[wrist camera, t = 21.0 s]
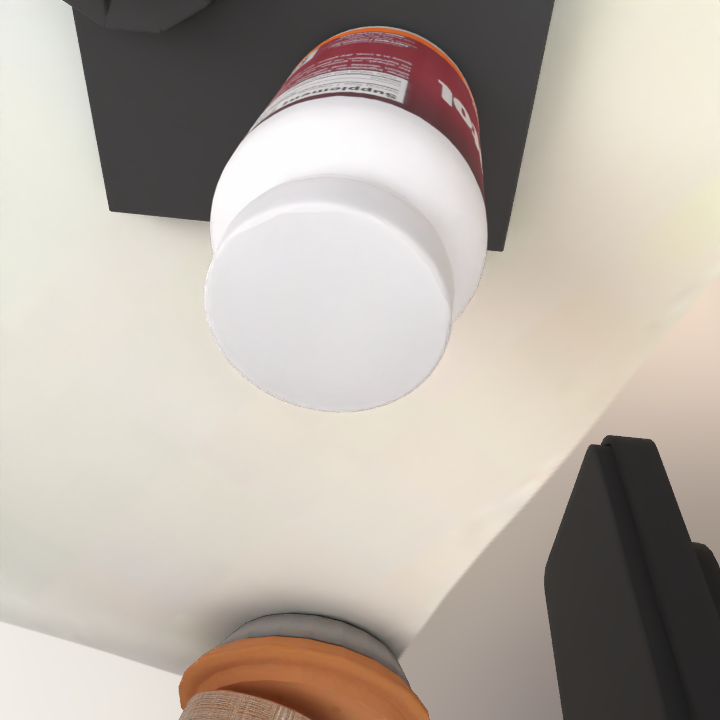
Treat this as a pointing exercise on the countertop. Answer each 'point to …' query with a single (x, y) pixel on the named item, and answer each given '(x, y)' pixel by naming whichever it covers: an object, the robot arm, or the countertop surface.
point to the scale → (278, 84)
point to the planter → (237, 707)
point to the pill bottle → (350, 225)
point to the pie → (308, 670)
